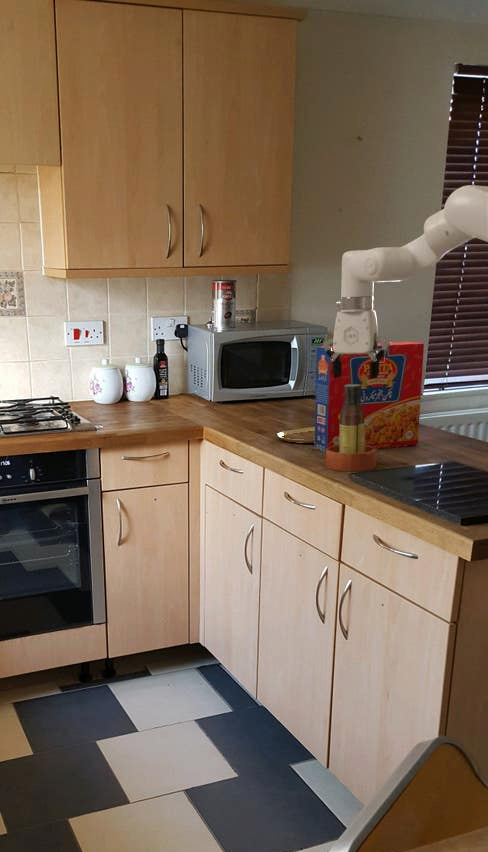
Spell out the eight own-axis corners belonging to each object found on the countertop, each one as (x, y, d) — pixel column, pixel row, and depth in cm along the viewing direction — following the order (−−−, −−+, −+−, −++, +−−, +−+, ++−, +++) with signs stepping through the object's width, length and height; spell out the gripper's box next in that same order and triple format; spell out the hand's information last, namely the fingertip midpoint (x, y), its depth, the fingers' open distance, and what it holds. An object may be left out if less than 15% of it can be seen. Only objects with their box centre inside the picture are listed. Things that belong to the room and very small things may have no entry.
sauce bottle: (358, 461, 226) (361, 382, 219) (368, 465, 220) (371, 385, 214) (334, 462, 225) (337, 384, 218) (343, 467, 219) (346, 386, 213)
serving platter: (394, 433, 265) (395, 428, 265) (304, 447, 249) (304, 442, 248) (352, 426, 281) (352, 421, 280) (264, 438, 264) (264, 433, 264)
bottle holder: (384, 464, 224) (384, 446, 222) (362, 473, 214) (363, 455, 213) (339, 459, 231) (339, 442, 230) (316, 468, 222) (316, 450, 220)
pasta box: (326, 453, 240) (330, 348, 231) (314, 448, 247) (316, 346, 238) (417, 445, 247) (424, 343, 238) (402, 441, 254) (408, 341, 245)
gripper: (317, 306, 212) (316, 378, 218) (384, 304, 202) (381, 380, 207) (331, 305, 218) (330, 375, 223) (397, 303, 208) (394, 376, 213)
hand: (355, 377), depth 215 cm, fingers open, 9 cm apart
